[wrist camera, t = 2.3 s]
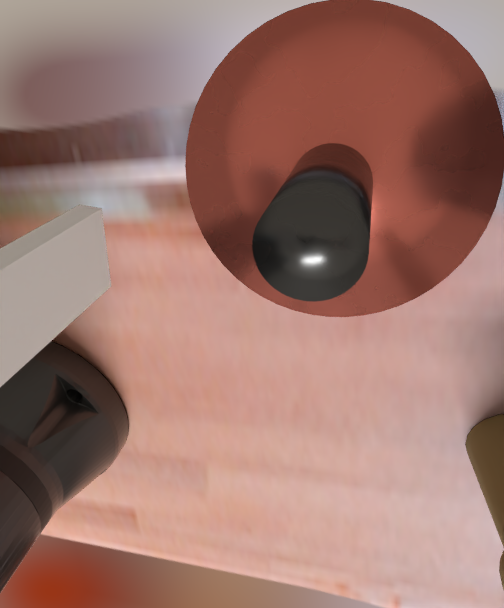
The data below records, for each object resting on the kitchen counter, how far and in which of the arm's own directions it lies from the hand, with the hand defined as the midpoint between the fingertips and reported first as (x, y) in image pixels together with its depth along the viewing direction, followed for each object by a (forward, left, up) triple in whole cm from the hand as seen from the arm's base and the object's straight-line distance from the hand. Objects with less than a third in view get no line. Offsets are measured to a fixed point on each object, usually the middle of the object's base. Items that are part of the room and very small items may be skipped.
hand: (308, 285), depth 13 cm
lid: (0, 0, -14) cm, 14 cm away
